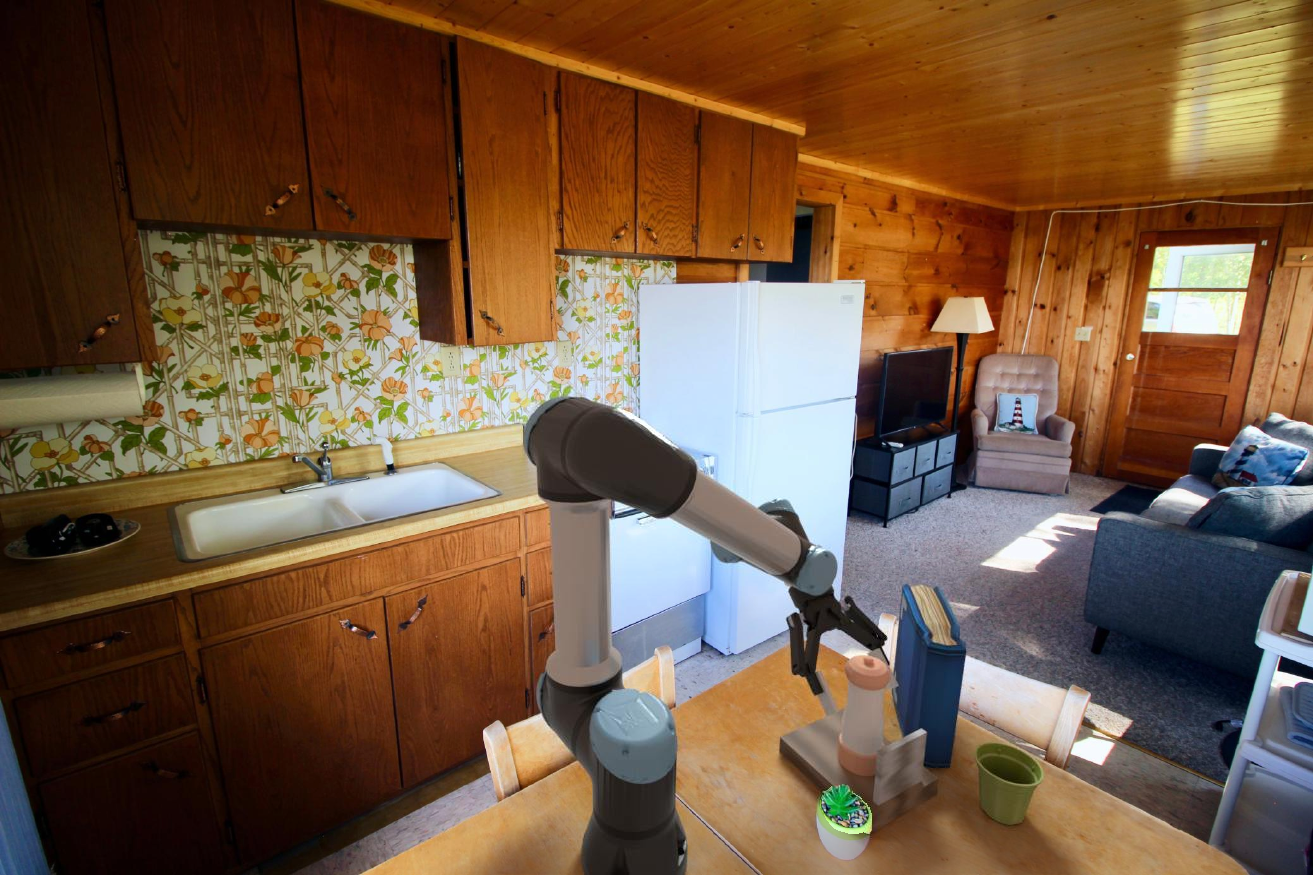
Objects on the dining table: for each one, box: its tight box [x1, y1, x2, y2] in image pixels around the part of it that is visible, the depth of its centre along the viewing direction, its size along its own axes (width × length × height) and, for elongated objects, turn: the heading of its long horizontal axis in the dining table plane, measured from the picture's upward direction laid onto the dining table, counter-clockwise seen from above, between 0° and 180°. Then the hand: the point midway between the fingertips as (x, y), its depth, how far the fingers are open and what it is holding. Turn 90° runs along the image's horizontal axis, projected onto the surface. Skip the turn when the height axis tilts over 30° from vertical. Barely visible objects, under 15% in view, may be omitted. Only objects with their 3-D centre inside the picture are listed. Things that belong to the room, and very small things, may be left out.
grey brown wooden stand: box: [778, 707, 940, 834], centre depth 103 cm, size 16×20×12 cm
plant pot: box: [973, 741, 1045, 826], centre depth 95 cm, size 9×9×9 cm
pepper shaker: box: [838, 654, 891, 776], centre depth 101 cm, size 7×7×19 cm
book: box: [891, 583, 968, 770], centre depth 111 cm, size 22×7×25 cm, turn 168°
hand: (863, 701), depth 101 cm, fingers open, 13 cm apart
